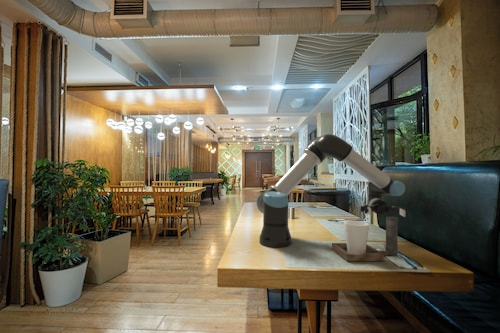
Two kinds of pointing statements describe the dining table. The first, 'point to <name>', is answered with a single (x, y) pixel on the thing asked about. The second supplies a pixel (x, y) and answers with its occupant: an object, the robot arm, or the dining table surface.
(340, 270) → the dining table surface
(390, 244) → the sliding frame
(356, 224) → the foam cup
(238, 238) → the dining table surface
